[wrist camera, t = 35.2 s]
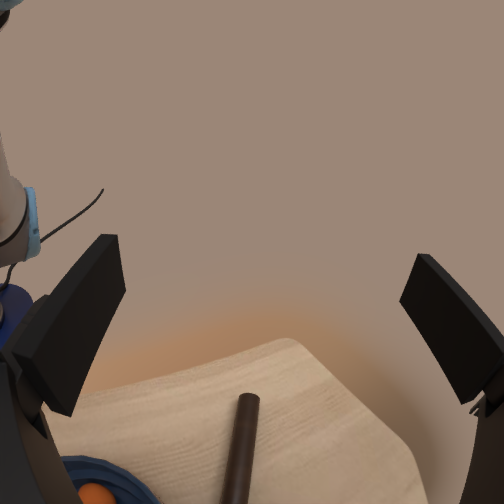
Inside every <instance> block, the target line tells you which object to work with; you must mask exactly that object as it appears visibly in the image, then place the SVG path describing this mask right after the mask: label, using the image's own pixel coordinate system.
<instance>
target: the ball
mask: <svg viewBox="0 0 504 504" xmlns="http://www.w3.org/2000/svg"><path fill="white" fill-rule="evenodd" d="M78 494H79V496H80V498H81V500H82V502H83V503H84V504H117V503H116V499H115V497H114V495H113V494H112V492H111V491H110V490H109V489H107V488H106V487H104V486H102V485H100V484H96V483H88V484H85V485H83V486H82V487H81V488H80V489H79V492H78Z"/></svg>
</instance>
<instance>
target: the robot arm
mask: <svg viewBox="0 0 504 504" xmlns="http://www.w3.org/2000/svg"><path fill="white" fill-rule="evenodd" d="M22 1H23V0H0V32H1V30H2V29H3V28H4V27H5V26H6V24H7V22H8V20H9V14H10V9H12V8H13V7H14V6H16V5H18V4H20V3H21V2H22ZM103 191H104V189H102V190H101V192H100V194H99V195H98V196H97V198H96V199H95V200H94V201H93V202H92V203H91V204H90V205H88V206H87V207H86V208H85V209H83V210H82V211H81V212H79V213H78V214H77V215H75V216H74V217H72V218H71V219H69V220H68V221H66V222H65V223H63V224H62V225H60V226H59V227H58V228H56V229H55V230H53V231H52V232H50V233H49V234H47V235H46V236H45V237H43V238H42V239H40V236H39V229H38V218H37V207H36V198H35V191H34V189H33V188H32V187H24V188H23V186H22V184H21V183H20V182H19V181H18V180H17V179H16V178H14V177H13V176H10V173H9V170H8V166H7V161H6V157H5V153H4V149H3V144H2V140H1V134H0V268H1V267H4V266H8V265H11V266H10V268H9V270H8V274H7V279H6V281H5V283H4V284H3V285H2V286H1V287H0V292H1V291H3V290H4V289H5V288H6V287H7V285H8V283H9V280H10V276H11V271H12V269H13V267H14V266H15V265H16V264H17V263H18V262H20V261H23V262H24V261H26V260H27V259H29V258H32V257H35V256H37V255H38V254H39V252H40V249H41V246H40V243H42V242H43V241H44V240H46V239H47V238H48V237H50V236H51V235H53V234H54V233H56V232H57V231H58V230H60V229H61V228H63V227H64V226H66V225H67V224H68V223H70V222H71V221H73V220H74V219H76V218H77V217H78V216H80V215H81V214H82V213H84V212H85V211H86V210H88V209H89V208H90V207H91V206H92V205H93V204H94V203H95V202H96V201H97V200H98V199H99V197H100V196H101V194H102V193H103ZM125 292H126V288H125V283H124V277H123V271H122V265H121V258H120V251H119V244H118V236H117V235H113V234H101V235H100V236H99V237H98V238H97V239H96V240H95V241H94V242H93V244H92V245H91V246H90V247H89V248H88V249H87V250H86V251H85V253H84V254H83V255H82V256H81V257H80V258H79V259H78V261H77V262H76V263H75V264H74V265H73V266H72V268H71V269H70V270H69V271H68V273H67V274H66V275H65V276H64V277H63V279H62V280H61V281H60V282H59V284H58V285H57V286H56V288H55V289H54V290H53V291H52V293H51V294H50V295H44V296H42V297H41V298H39V299H38V300H37V301H35V302H34V303H33V305H32V306H31V307H30V309H29V310H28V311H27V314H26V315H24V317H23V318H22V319H21V323H19V324H18V325H17V326H16V328H15V329H14V331H13V332H12V334H11V335H10V337H9V338H8V340H7V341H6V343H5V344H4V346H3V347H2V349H1V350H0V504H84V503H83V502H82V500H81V498H80V496H79V494H78V493H77V491H76V489H75V487H74V485H73V483H72V481H71V479H70V477H69V475H68V473H67V471H66V469H65V466H64V464H63V462H62V460H61V458H60V455H59V453H58V450H57V448H56V446H55V443H54V440H53V438H52V435H51V432H50V430H49V427H48V424H47V421H46V418H45V415H44V413H43V411H42V409H41V406H42V404H43V401H44V402H45V403H46V404H47V406H48V407H49V408H50V409H51V411H54V412H57V413H59V414H62V415H65V416H68V417H71V416H72V413H73V410H74V408H75V405H76V402H77V399H78V397H79V394H80V391H81V389H82V386H83V384H84V381H85V379H86V376H87V374H88V371H89V369H90V367H91V364H92V362H93V360H94V357H95V355H96V352H97V350H98V348H99V346H100V344H101V341H102V339H103V337H104V335H105V333H106V330H107V328H108V326H109V324H110V322H111V320H112V317H113V316H114V314H115V312H116V310H117V308H118V305H119V304H120V302H121V300H122V298H123V296H124V294H125ZM399 302H400V303H401V305H402V306H403V308H404V309H405V311H406V312H407V314H408V315H409V317H410V318H411V320H412V321H413V323H414V324H415V326H416V327H417V329H418V330H419V332H420V334H421V335H422V337H423V338H424V340H425V342H426V343H427V345H428V346H429V348H430V349H431V351H432V353H433V355H434V356H435V358H436V360H437V361H438V363H439V365H440V366H441V368H442V370H443V372H444V373H445V375H446V377H447V379H448V381H449V382H450V384H451V386H452V388H453V390H454V392H455V393H456V395H457V397H458V399H459V401H460V403H461V405H462V404H465V403H467V402H470V401H472V400H474V399H475V398H476V396H477V395H478V394H479V393H480V392H481V391H482V390H483V391H484V393H485V395H484V396H483V397H482V398H481V399H480V400H479V401H478V402H477V403H476V404H475V405H474V406H473V408H472V409H471V410H470V412H469V414H472V413H473V411H475V410H476V409H477V408H479V409H478V410H477V411H476V413H475V414H474V416H477V417H478V424H477V431H476V437H475V444H474V449H473V454H472V459H471V463H470V467H469V472H468V476H467V479H466V483H465V487H464V490H463V493H462V497H461V500H460V503H459V504H504V336H503V335H502V334H501V332H500V331H499V330H498V329H497V328H496V326H495V325H494V324H493V322H492V321H491V320H490V319H489V318H488V316H487V315H486V314H485V313H484V312H483V311H482V309H481V308H480V307H479V306H478V305H477V304H476V303H475V301H474V300H473V299H472V298H471V297H470V296H469V295H468V294H467V292H466V291H465V290H464V289H463V288H462V287H461V286H460V285H459V284H458V283H457V282H456V281H455V280H454V279H453V278H452V277H451V275H450V274H449V273H447V271H446V270H445V269H444V268H443V267H442V266H440V264H439V263H438V262H437V261H436V260H435V259H433V257H431V256H430V255H429V254H419V253H418V254H417V258H416V260H415V263H414V265H413V268H412V271H411V273H410V276H409V279H408V281H407V284H406V286H405V289H404V291H403V293H402V296H401V298H400V301H399ZM4 319H5V312H4V309H3V307H2V304H1V302H0V330H1V328H2V326H3V323H4Z"/></svg>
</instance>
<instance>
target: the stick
mask: <svg viewBox="0 0 504 504" xmlns="http://www.w3.org/2000/svg"><path fill="white" fill-rule="evenodd" d="M259 403H260V398H259V397H258V396H257V395H255V394H252V393H243V394H241V395H240V396H239V400H238V406H237V412H236V418H235V424H234V430H233V436H232V442H231V447H230V453H229V459H228V465H227V471H226V476H225V482H224V488H223V493H222V499H221V504H248V497H249V489H250V481H251V473H252V465H253V457H254V448H255V439H256V431H257V422H258V412H259Z"/></svg>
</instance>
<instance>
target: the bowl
mask: <svg viewBox="0 0 504 504" xmlns="http://www.w3.org/2000/svg"><path fill="white" fill-rule="evenodd" d="M60 458H61V460H62V462H63V464H64V466H65V469H66V471H67V473H68V475H69V477H70V479H71V481H72V483H73V485H74V487H75V489H76V491H77V493H78V492H79V489H80V488H81V487H82V486H83V485H85V484H88V483H96V484H100V485H102V486H104V487H106V488H107V489H109V490H110V491H111V492H112V494H113V495H114V497H115V499H116V503H117V504H164V503H163V502H162V500H161V499H160V498H159V497H158V496H157V495H156V494H155V493H154V492H153V491H152V490H151V489H150V488H148V487H147V486H146V485H145V484H144V483H142V482H141V481H140V480H138V479H137V478H136V477H135V476H133V475H132V474H131V473H130V472H128V471H127V470H125V469H122V468H120V467H118V466H116V465H114V464H112V463H110V462H108V461H106V460H102V459H97V458H92V457H87V456H82V455H81V456H62V457H60Z"/></svg>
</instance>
